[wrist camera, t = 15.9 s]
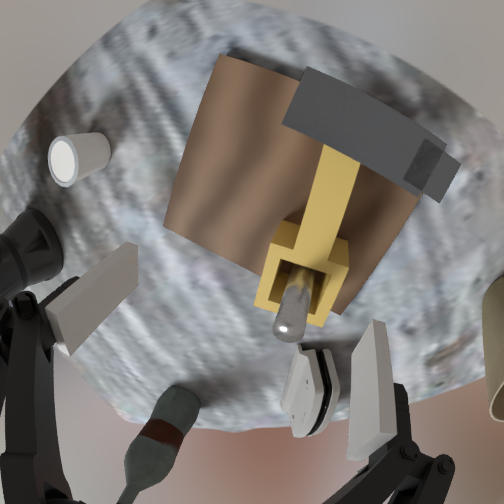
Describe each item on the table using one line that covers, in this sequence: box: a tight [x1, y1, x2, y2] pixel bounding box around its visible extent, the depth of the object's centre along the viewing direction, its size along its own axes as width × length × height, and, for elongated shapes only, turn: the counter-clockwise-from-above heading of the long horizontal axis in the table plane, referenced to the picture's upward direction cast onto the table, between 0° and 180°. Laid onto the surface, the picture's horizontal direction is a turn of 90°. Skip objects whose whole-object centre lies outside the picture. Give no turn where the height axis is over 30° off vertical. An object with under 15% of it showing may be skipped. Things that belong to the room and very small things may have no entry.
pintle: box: [273, 263, 316, 343], centre depth 28 cm, size 2×2×14 cm
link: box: [254, 144, 360, 327], centre depth 28 cm, size 20×8×6 cm, turn 168°
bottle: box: [117, 386, 200, 504], centre depth 44 cm, size 9×9×30 cm
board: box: [163, 54, 423, 315], centre depth 31 cm, size 25×22×2 cm
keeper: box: [281, 66, 461, 203], centre depth 21 cm, size 11×4×13 cm, turn 68°
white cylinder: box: [48, 132, 111, 187], centre depth 33 cm, size 7×7×7 cm
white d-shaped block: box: [280, 344, 340, 437], centre depth 41 cm, size 17×5×10 cm, turn 175°
